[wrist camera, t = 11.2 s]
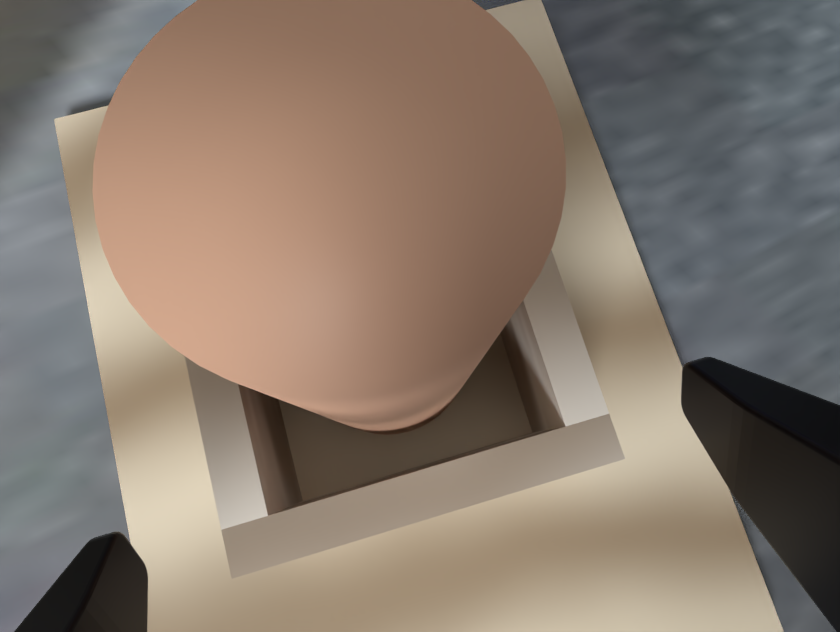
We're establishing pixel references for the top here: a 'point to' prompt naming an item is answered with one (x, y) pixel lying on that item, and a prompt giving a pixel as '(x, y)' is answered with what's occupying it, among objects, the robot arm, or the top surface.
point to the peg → (331, 197)
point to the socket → (436, 457)
